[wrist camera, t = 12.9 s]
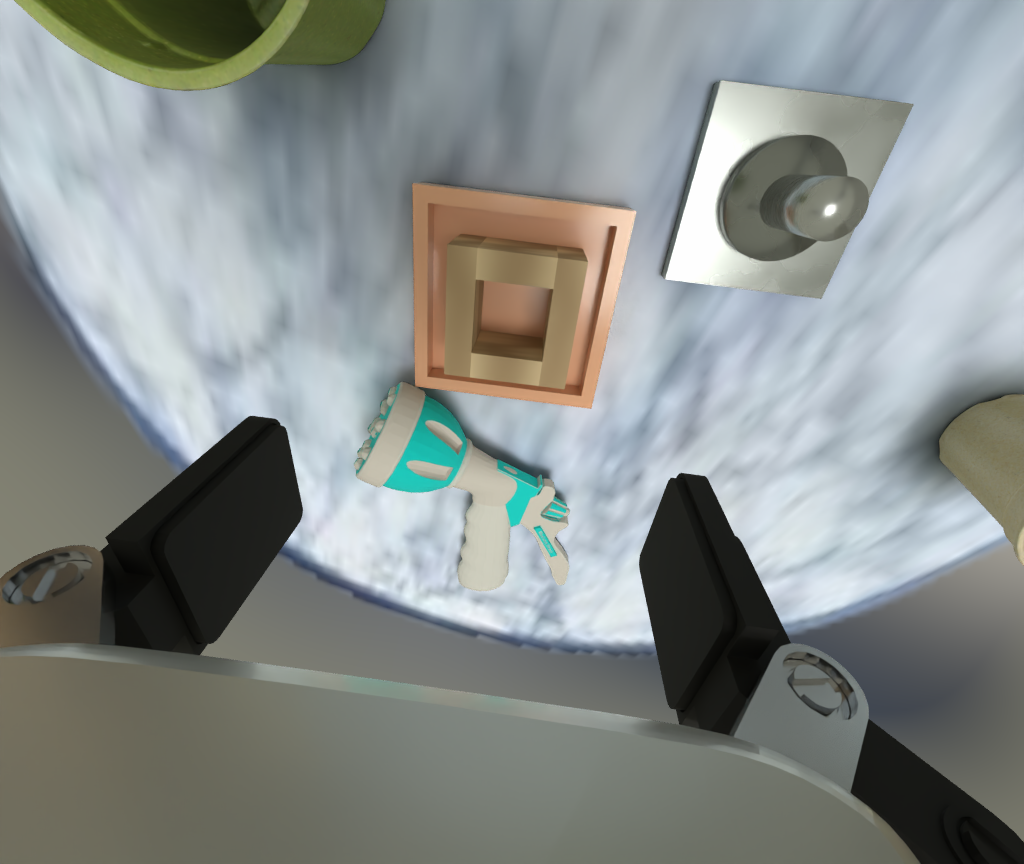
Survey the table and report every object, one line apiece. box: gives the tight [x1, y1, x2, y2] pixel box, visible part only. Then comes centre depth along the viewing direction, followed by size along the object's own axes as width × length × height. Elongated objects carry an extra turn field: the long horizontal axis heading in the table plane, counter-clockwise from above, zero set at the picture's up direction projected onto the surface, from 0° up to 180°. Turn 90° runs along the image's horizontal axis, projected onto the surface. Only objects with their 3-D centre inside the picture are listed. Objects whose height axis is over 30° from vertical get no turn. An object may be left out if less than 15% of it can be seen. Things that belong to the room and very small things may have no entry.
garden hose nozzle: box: [354, 382, 570, 591], centre depth 34 cm, size 7×18×20 cm
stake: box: [661, 80, 914, 299], centre depth 21 cm, size 9×9×6 cm
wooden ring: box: [444, 234, 588, 389], centre depth 25 cm, size 7×7×4 cm
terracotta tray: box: [412, 182, 636, 409], centre depth 26 cm, size 12×12×2 cm
